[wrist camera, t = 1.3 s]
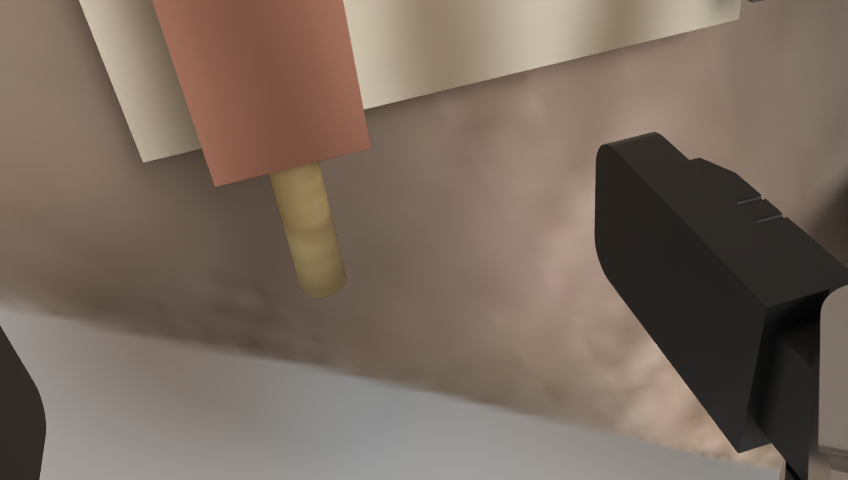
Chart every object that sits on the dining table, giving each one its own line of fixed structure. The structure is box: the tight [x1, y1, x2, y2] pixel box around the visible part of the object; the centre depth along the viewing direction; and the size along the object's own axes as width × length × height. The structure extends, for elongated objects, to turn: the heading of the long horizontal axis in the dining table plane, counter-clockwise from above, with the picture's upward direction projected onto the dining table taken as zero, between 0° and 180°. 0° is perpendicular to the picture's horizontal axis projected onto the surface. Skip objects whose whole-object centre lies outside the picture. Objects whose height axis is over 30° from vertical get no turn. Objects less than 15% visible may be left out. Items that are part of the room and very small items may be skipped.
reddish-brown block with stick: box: [152, 0, 371, 298], centre depth 22 cm, size 4×12×6 cm, turn 8°
